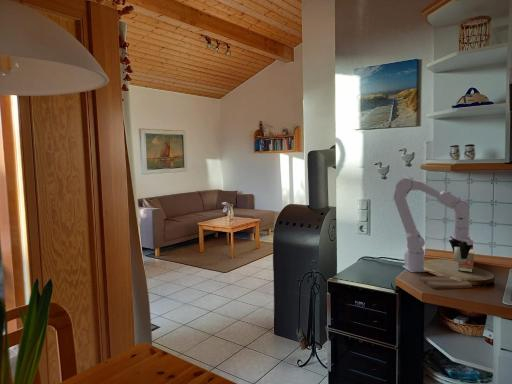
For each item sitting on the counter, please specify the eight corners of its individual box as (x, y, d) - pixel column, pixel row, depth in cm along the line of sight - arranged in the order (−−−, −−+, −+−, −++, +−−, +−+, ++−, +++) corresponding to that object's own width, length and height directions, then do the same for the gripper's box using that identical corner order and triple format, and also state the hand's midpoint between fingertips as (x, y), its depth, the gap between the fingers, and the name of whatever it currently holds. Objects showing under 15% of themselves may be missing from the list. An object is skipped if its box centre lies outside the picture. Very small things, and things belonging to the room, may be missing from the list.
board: (419, 279, 170) (419, 277, 170) (455, 278, 171) (455, 275, 171) (434, 289, 158) (434, 286, 158) (472, 287, 159) (472, 284, 159)
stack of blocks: (473, 273, 178) (474, 246, 177) (458, 271, 181) (458, 245, 180) (471, 261, 197) (472, 237, 196) (457, 259, 200) (458, 236, 199)
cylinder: (451, 259, 176) (451, 246, 175) (462, 258, 176) (462, 245, 176) (458, 262, 171) (458, 249, 170) (468, 261, 171) (469, 248, 171)
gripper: (480, 230, 165) (479, 261, 167) (460, 224, 180) (459, 252, 181) (464, 230, 165) (463, 262, 166) (445, 224, 179) (444, 253, 181)
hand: (460, 257), depth 174 cm, fingers closed on cylinder, 5 cm apart
